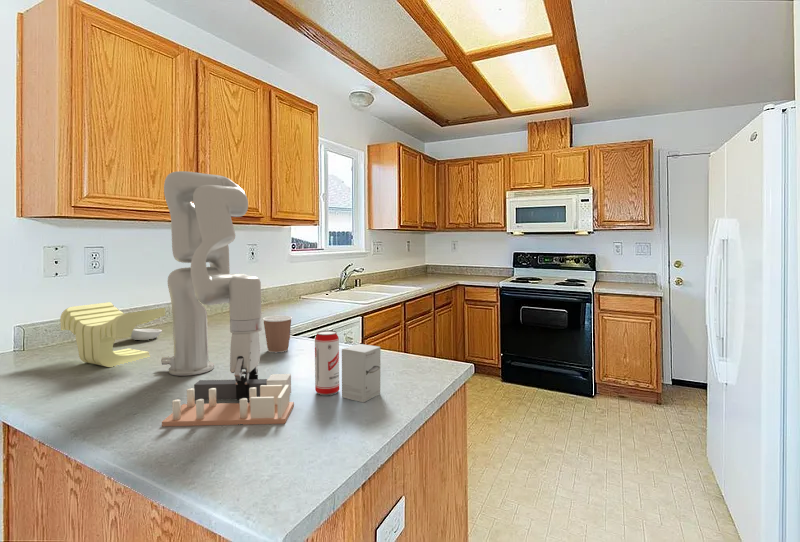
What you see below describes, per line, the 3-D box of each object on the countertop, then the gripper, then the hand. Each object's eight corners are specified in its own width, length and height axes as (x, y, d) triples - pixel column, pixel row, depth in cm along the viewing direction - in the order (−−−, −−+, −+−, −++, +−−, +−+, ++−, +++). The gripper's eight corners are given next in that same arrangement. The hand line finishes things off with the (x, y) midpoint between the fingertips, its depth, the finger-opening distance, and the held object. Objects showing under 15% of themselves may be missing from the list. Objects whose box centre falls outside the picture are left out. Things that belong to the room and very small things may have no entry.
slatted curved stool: (62, 361, 141) (59, 308, 140) (112, 350, 156) (110, 302, 155) (117, 373, 128) (115, 314, 127) (167, 360, 143) (165, 307, 142)
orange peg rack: (161, 426, 91) (161, 401, 91) (183, 408, 101) (182, 385, 101) (284, 423, 93) (284, 398, 93) (293, 406, 103) (293, 383, 102)
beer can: (343, 389, 114) (343, 330, 113) (332, 398, 108) (331, 335, 107) (322, 387, 116) (322, 329, 115) (310, 395, 110) (309, 333, 109)
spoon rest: (150, 335, 182) (149, 318, 181) (168, 338, 177) (167, 321, 176) (89, 347, 161) (88, 329, 160) (107, 351, 156) (106, 332, 155)
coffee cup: (298, 349, 157) (298, 317, 157) (276, 355, 149) (276, 321, 148) (279, 345, 163) (278, 314, 162) (257, 351, 154) (256, 318, 153)
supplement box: (364, 403, 105) (364, 352, 104) (341, 397, 109) (340, 348, 108) (381, 394, 111) (381, 346, 110) (358, 389, 115) (358, 342, 114)
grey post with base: (193, 401, 106) (192, 381, 106) (201, 394, 111) (200, 375, 111) (287, 399, 107) (286, 380, 107) (291, 392, 112) (290, 374, 112)
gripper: (241, 319, 116) (243, 383, 117) (218, 332, 99) (220, 408, 100) (269, 318, 117) (270, 383, 118) (251, 332, 99) (252, 407, 101)
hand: (247, 394), depth 109 cm, fingers open, 6 cm apart
